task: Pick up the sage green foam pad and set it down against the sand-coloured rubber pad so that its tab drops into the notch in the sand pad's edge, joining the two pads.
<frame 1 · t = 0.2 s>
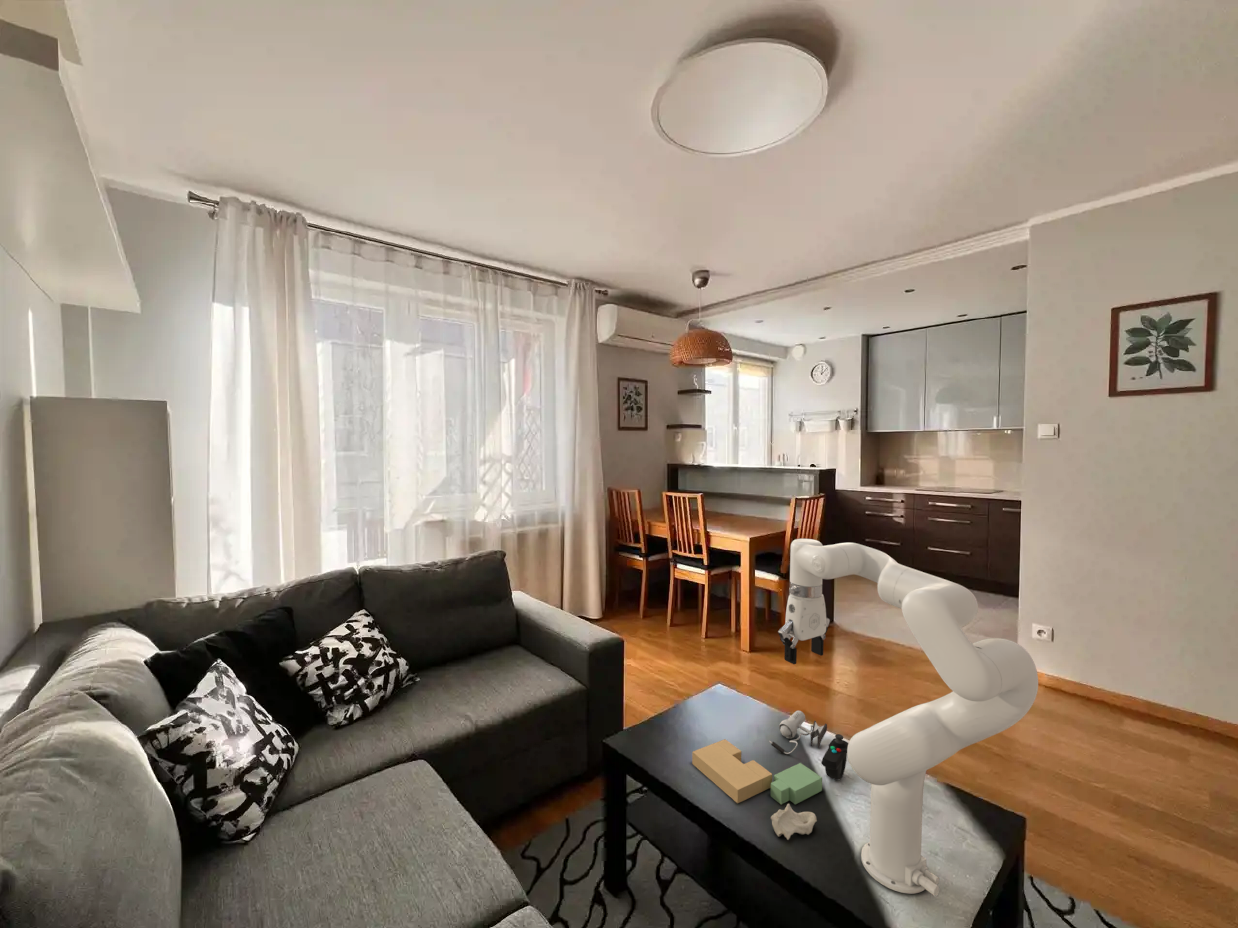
hand: (803, 657, 127), 36 cm above the table, tool pointing down, fingers open, 9 cm apart
clip-on lamp: (796, 743, 153), on the table
coral: (793, 831, 119), on the table
sand pad: (730, 774, 138), on the table
controller: (834, 778, 137), on the table
green pad: (797, 789, 133), on the table
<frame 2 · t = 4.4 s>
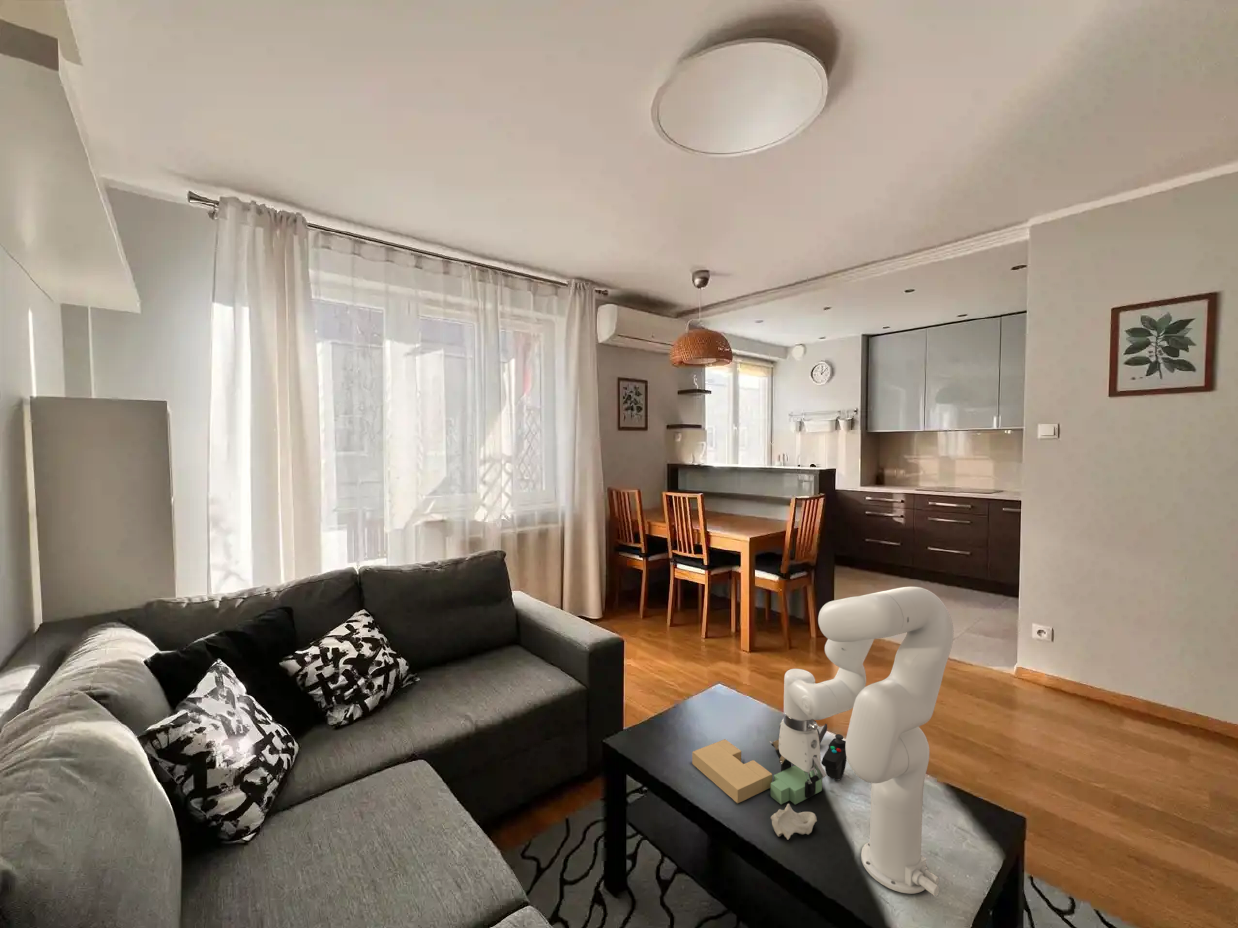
hand: (797, 786, 133), 1 cm above the table, tool pointing down, fingers closed on green pad, 7 cm apart
green pad: (797, 789, 133), on the table, touching gripper
everything else where it was.
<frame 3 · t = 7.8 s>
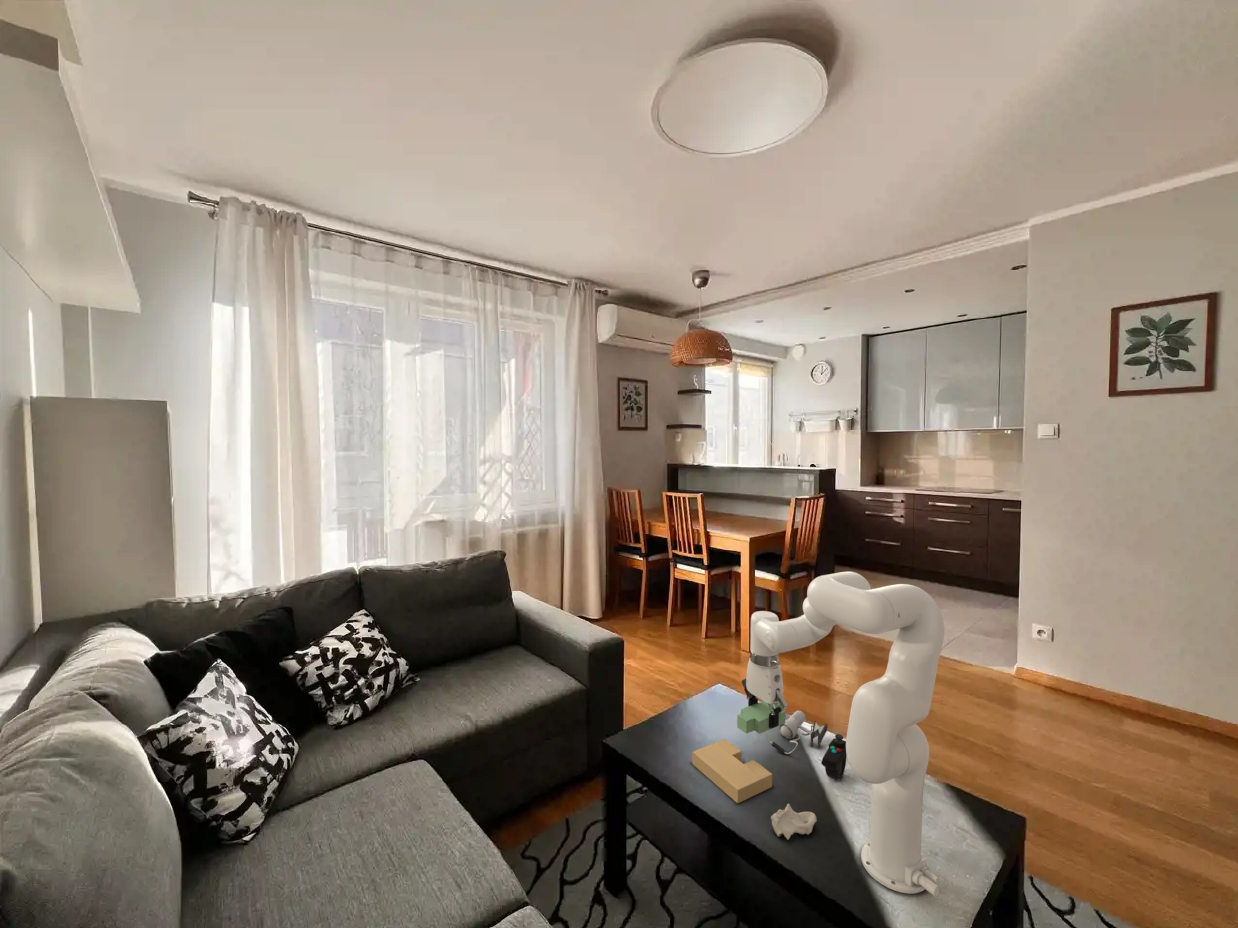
hand: (763, 719, 143), 12 cm above the table, tool pointing down, fingers closed on green pad, 7 cm apart
green pad: (763, 722, 143), point 12 cm above the table, touching gripper
everything else where it was.
when the fingers open (1 cm above the table, at t = 11.4 s): green pad stays where it is, on the table.
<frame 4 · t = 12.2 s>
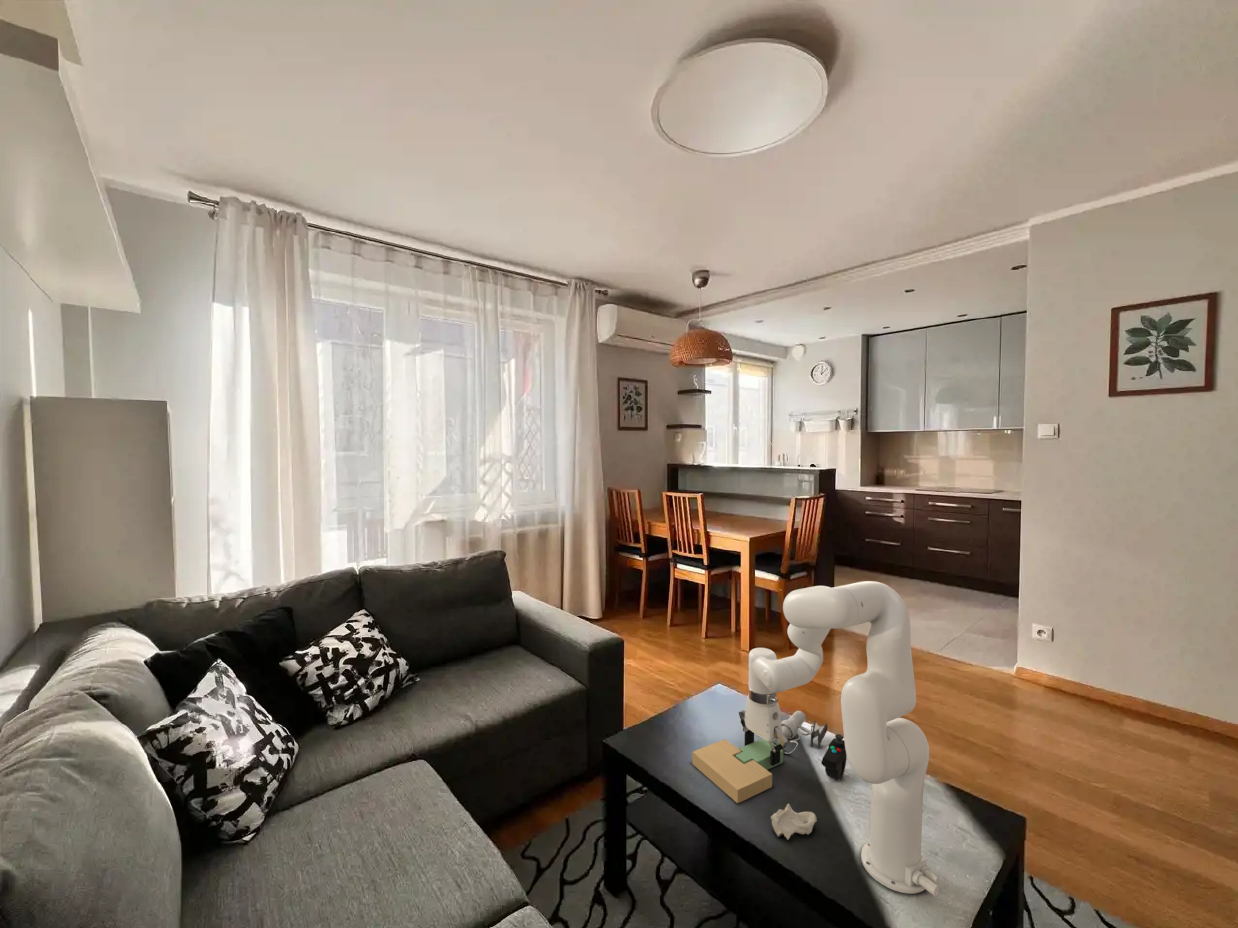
hand: (761, 754, 144), 2 cm above the table, tool pointing down, fingers open, 9 cm apart
green pad: (761, 761, 144), on the table
everything else where it was.
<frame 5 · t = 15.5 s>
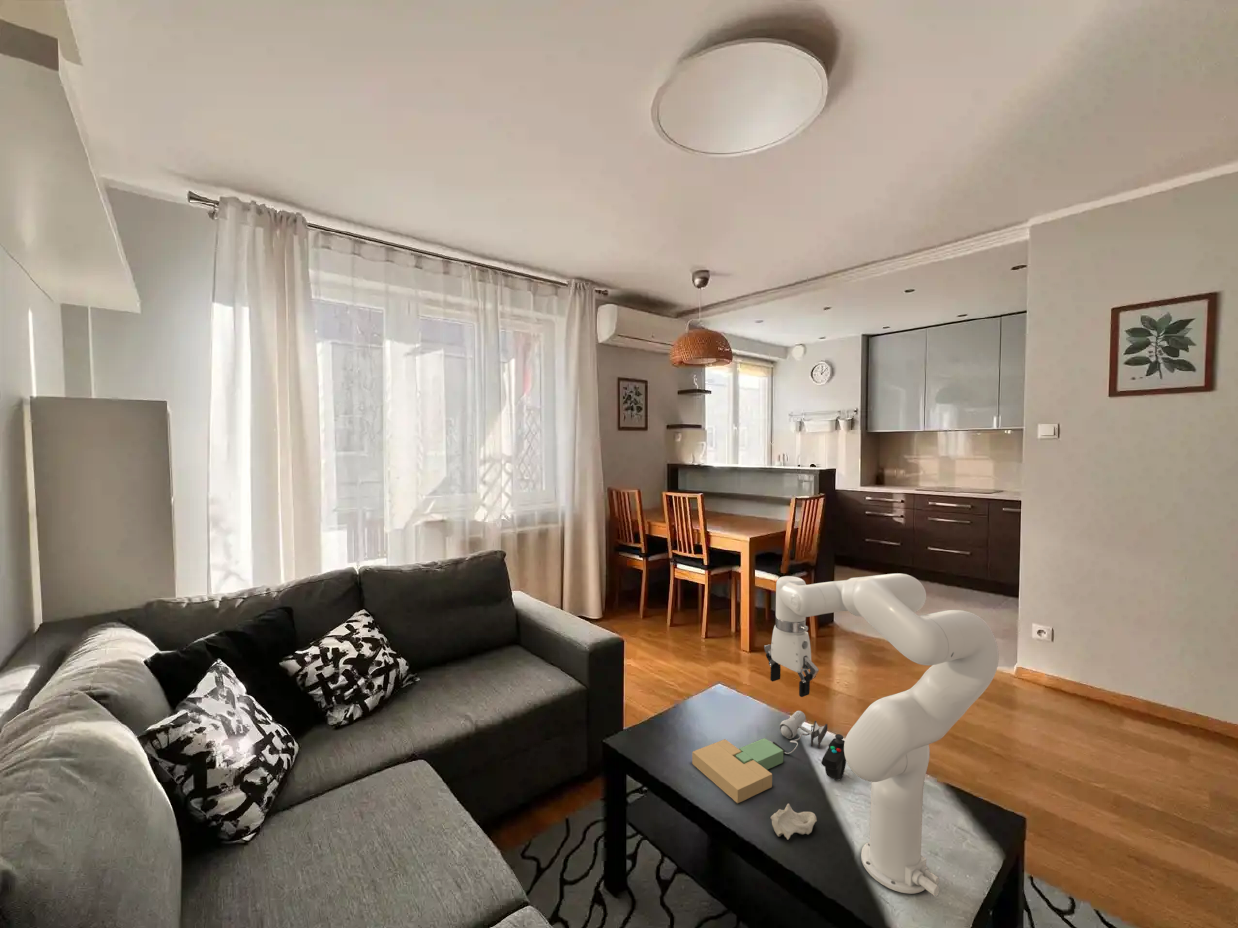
hand: (789, 687, 137), 24 cm above the table, tool pointing down, fingers open, 9 cm apart
nothing on the table moved.
at the end: green pad 0.1 cm from the target spot on the table beside the sand pad, on the table; green pad tilted 0°; the gripper is holding nothing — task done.
